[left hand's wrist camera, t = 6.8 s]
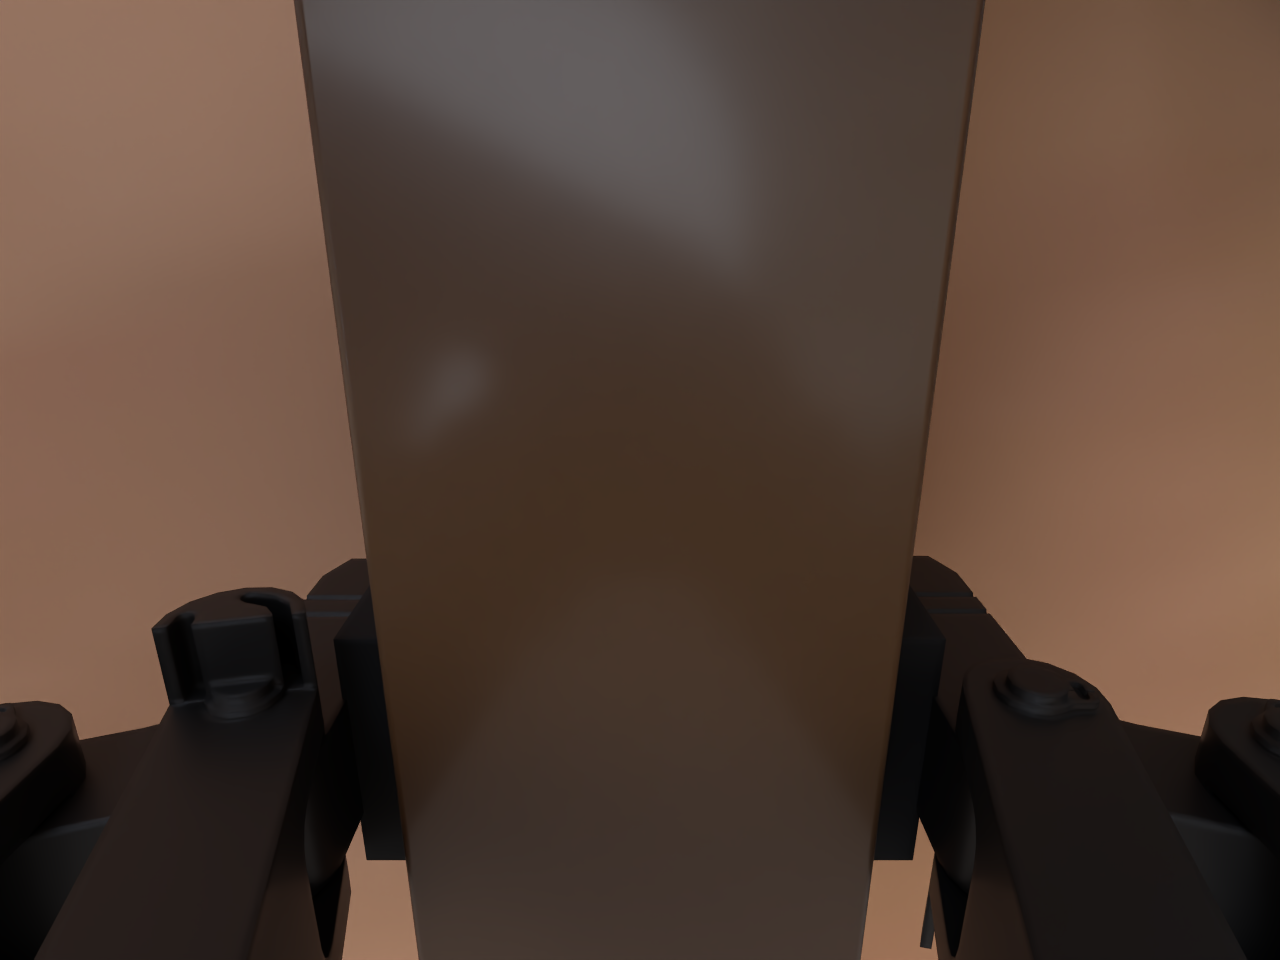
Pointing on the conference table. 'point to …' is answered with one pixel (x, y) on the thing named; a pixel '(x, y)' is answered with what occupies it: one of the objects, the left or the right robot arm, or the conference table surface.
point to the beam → (639, 444)
